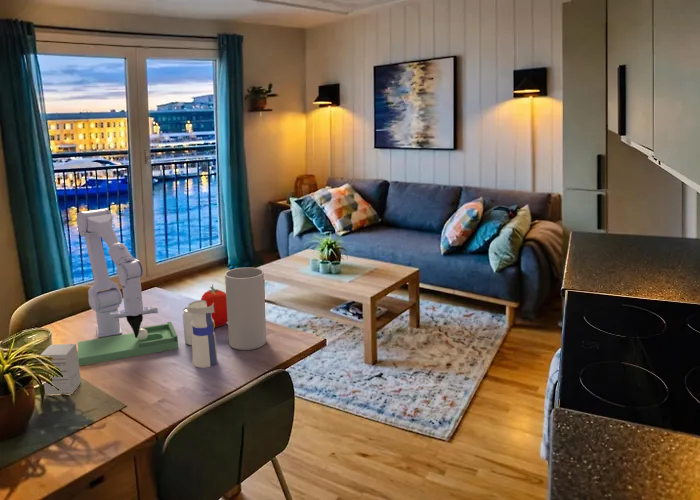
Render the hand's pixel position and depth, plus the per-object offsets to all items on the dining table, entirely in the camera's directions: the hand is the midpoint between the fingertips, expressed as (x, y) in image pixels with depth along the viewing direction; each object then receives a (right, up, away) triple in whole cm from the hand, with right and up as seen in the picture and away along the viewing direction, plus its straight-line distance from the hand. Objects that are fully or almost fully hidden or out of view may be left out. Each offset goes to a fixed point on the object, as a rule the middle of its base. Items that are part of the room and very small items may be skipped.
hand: (136, 336), depth 187 cm
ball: (+1, +1, +1) cm, 2 cm away
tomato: (+22, +1, +19) cm, 29 cm away
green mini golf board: (-3, -4, 0) cm, 5 cm away
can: (+18, -3, +6) cm, 19 cm away
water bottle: (+25, -7, -9) cm, 27 cm away
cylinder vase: (+36, -3, +4) cm, 37 cm away
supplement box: (-11, -11, -27) cm, 31 cm away
